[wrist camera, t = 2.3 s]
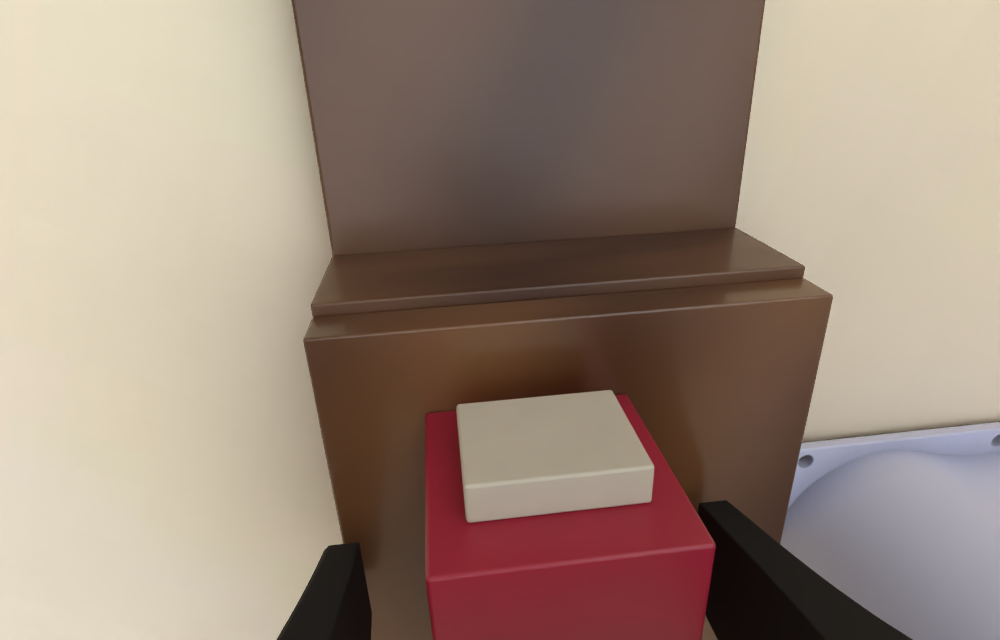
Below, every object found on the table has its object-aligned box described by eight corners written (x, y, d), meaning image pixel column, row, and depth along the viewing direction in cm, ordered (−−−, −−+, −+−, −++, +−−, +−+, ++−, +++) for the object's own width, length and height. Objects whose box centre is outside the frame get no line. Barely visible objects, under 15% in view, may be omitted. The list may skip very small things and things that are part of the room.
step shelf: (764, -269, 12) (1004, -497, 7) (675, 519, 21) (755, 667, 16) (260, -274, 11) (129, -538, 6) (389, 553, 20) (377, 720, 15)
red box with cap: (629, 361, 11) (724, 505, 8) (611, 654, 15) (671, 846, 11) (421, 380, 11) (419, 539, 7) (452, 675, 15) (462, 882, 11)
